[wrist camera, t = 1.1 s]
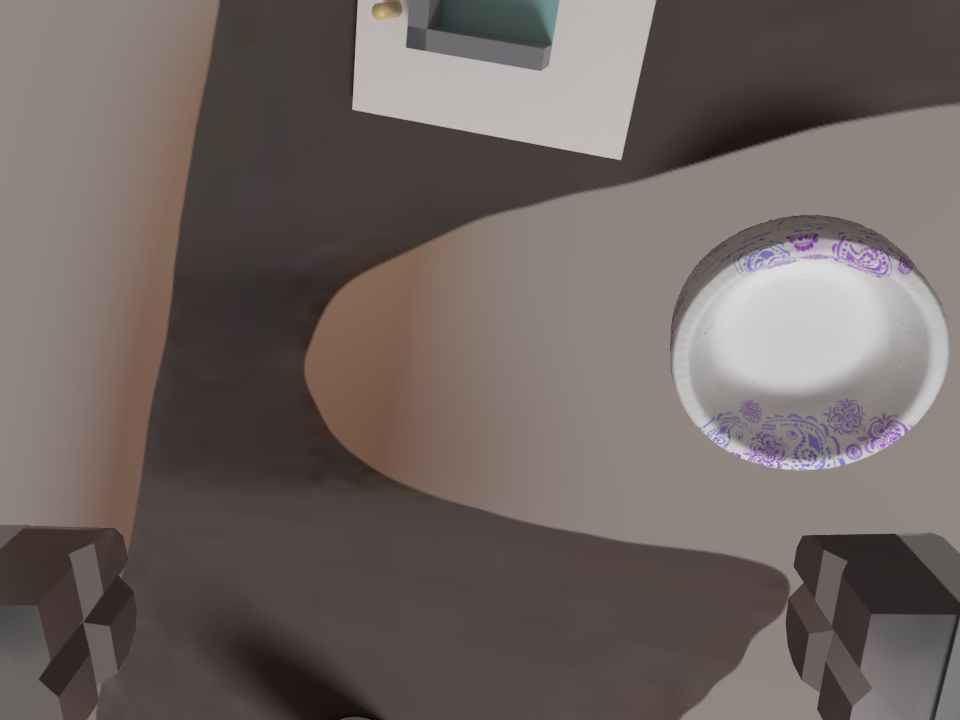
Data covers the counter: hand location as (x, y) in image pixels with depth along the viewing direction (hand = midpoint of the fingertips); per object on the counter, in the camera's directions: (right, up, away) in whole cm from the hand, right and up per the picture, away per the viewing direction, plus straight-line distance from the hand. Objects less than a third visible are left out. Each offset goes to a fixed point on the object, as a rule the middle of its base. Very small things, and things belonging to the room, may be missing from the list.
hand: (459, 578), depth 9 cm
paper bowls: (+21, +6, +42) cm, 48 cm away
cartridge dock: (+2, +26, +37) cm, 45 cm away
